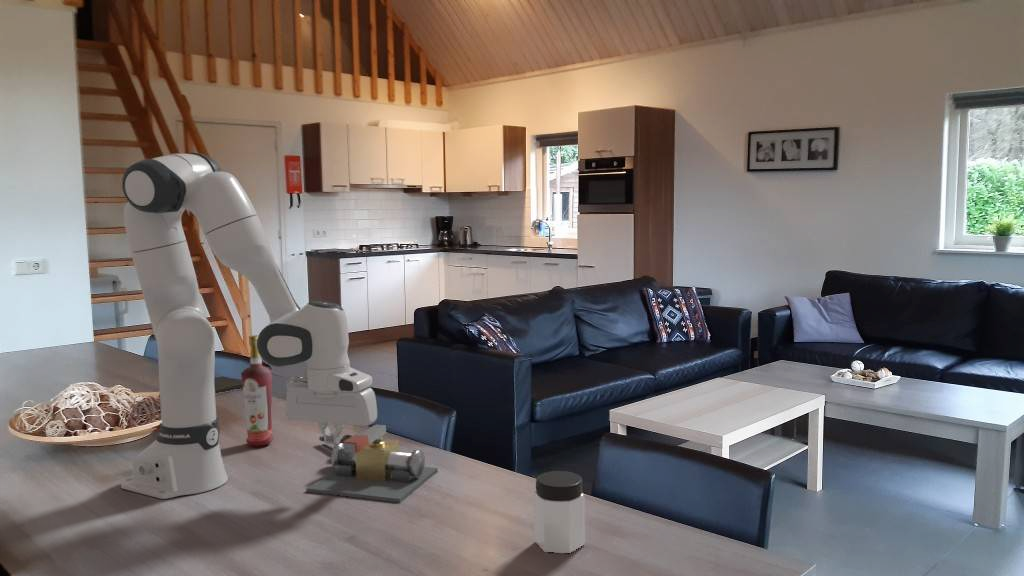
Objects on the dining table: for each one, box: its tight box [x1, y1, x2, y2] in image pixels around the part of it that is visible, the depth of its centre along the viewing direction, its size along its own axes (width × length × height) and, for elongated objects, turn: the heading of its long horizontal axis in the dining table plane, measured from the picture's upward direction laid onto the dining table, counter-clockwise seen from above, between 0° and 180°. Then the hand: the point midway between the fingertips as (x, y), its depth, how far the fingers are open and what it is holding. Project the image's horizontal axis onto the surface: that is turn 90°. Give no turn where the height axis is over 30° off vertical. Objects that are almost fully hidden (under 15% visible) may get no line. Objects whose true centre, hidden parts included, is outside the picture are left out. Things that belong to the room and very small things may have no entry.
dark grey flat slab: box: [214, 376, 243, 393], centre depth 256 cm, size 16×23×2 cm
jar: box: [533, 470, 586, 554], centre depth 137 cm, size 9×8×12 cm
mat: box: [305, 466, 439, 503], centre depth 170 cm, size 22×19×1 cm
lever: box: [343, 424, 387, 453], centre depth 166 cm, size 14×3×3 cm, turn 162°
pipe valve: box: [330, 438, 426, 483], centre depth 171 cm, size 20×7×8 cm, turn 72°
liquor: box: [240, 334, 275, 448], centre depth 196 cm, size 7×7×28 cm
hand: (332, 442), depth 163 cm, fingers closed
